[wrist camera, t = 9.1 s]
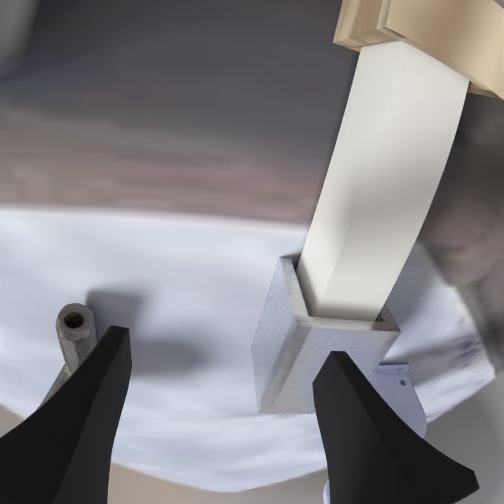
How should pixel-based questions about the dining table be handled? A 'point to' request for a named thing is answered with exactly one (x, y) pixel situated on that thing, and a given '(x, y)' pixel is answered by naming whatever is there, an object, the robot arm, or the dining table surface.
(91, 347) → the pipe
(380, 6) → the socket
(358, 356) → the sleeve
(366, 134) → the long white bar
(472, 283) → the dining table surface
